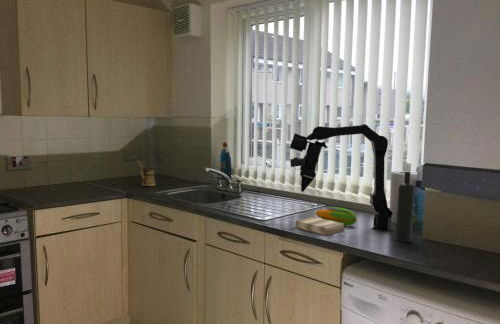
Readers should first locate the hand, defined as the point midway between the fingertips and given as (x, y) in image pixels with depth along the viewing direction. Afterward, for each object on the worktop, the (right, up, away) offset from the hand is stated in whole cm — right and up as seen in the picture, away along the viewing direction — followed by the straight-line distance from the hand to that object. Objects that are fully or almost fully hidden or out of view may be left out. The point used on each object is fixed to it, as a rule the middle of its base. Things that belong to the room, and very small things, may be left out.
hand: (302, 189), depth 188 cm
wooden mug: (-90, -4, +96) cm, 131 cm away
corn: (+15, -16, +6) cm, 23 cm away
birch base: (+7, -16, -5) cm, 18 cm away
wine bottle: (+37, -19, -18) cm, 45 cm away
